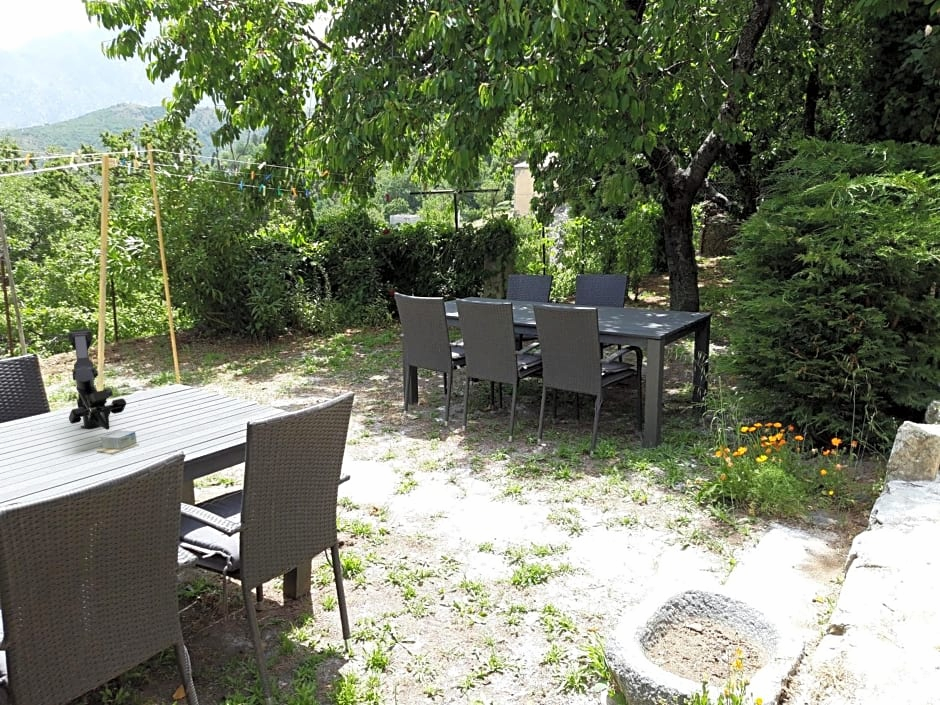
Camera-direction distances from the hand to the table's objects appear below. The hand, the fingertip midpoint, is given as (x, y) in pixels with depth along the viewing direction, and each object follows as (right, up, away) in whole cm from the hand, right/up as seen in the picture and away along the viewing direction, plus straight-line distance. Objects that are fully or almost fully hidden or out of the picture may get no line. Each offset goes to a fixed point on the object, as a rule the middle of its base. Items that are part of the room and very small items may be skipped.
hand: (108, 428), depth 250 cm
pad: (+4, -7, 0) cm, 8 cm away
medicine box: (-1, -4, +2) cm, 5 cm away
